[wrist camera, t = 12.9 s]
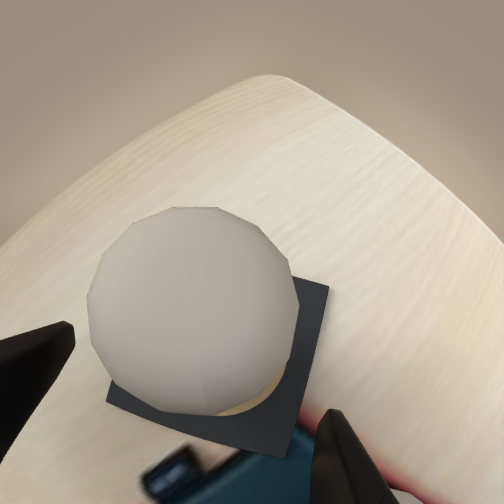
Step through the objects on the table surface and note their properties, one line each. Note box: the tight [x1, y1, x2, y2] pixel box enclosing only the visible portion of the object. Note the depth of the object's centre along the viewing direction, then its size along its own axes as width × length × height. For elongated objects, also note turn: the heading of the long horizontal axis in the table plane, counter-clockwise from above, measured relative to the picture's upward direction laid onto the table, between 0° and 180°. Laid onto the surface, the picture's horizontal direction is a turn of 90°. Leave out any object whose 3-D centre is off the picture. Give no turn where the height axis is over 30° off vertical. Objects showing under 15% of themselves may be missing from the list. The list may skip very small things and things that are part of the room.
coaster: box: [106, 276, 329, 458], centre depth 17 cm, size 11×11×1 cm
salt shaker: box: [87, 207, 299, 416], centre depth 11 cm, size 6×6×13 cm
